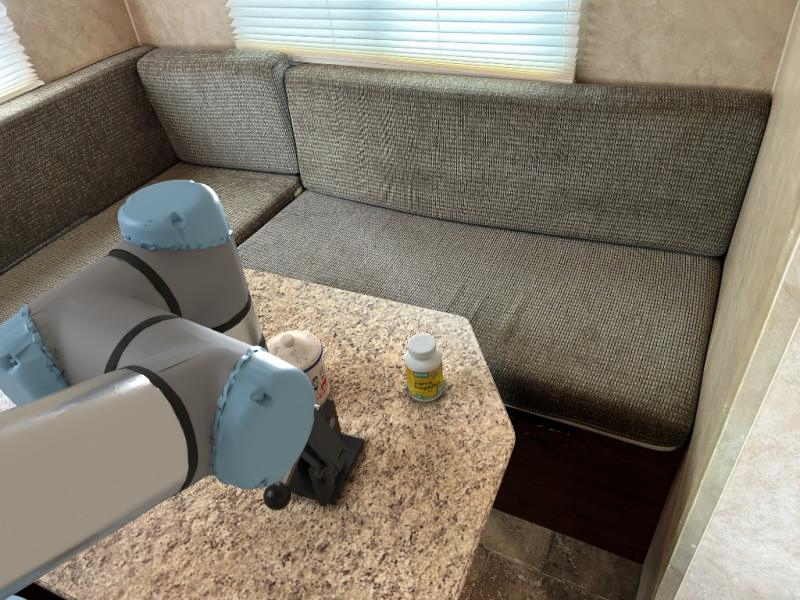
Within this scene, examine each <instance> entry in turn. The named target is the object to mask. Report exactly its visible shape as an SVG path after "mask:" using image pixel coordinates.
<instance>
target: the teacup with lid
mask: <svg viewBox="0 0 800 600" xmlns="http://www.w3.org/2000/svg"><path fill="white" fill-rule="evenodd" d="M266 344H267V347H268V351H269V353H270V354H272V355H274V356H276V357H278V358H280V359H282V360H284V361H286V362H287V363H289V364H291V365H293V366H295V367H297V368H299V369H300V370H302V371H303V372H304V373H305V374H306V375H307V377H308V378H309V380H310V381H311V383H312V386H313V389H314V392H315V400H316V403H315V405H318V406H320V407H322V406H323V404H324V403H325V401H326V399H327V398H328V397H329V394H330V389H331V388H330V382H329V377H328V374H327V369H326V364H325V360H324V356H323V352H324V348H323V344H322V342H321V341H320V340H319V338H318V337H317V336H316V335H315V334H313V333H311V332H310V331H309V330H301V329H300V330H299V329H294V330H287V331H283V332H280V333H278V334H276V335H274V336H273V337H271V338H270V339H269V340H267V341H266Z"/></svg>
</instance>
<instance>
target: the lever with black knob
mask: <svg viewBox="0 0 800 600" xmlns="http://www.w3.org/2000/svg"><path fill="white" fill-rule="evenodd" d="M315 408H316V409H317V410H318V411H320V409H321V408H322V406H318V405H315ZM299 459H300V456H299V458H298V459H297V461H296V462H295V463H294V465H293V466H292V467H291V468H290V469H289V471H288V472H287V473H286V474H285V475H284V476H282V477H281V478H280V479H279V480H278V481H276V482H275V483H273V484H272V485H270V486H268V487H265V488H264V491H263V494H262V499H263V503H264V505H265V506H266V507H267V508H268V509H269V510H272V511H276V512H277V511H281V510H284V509H285V508H287V507H288V506H289V504H290V502H291V500H292V493H291V490H290V488H289V486H288V485H289V482H290V480H291V478H292V475H293V473H294V470H295V468H296V466H297V463H298V461H299Z"/></svg>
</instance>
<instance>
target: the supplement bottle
mask: <svg viewBox="0 0 800 600" xmlns="http://www.w3.org/2000/svg"><path fill="white" fill-rule="evenodd" d="M404 367H405V375H406V383H407V391H408V393H409V395H410V396H411V397H412V399H414V400H416V401H418V402H424V403H427V402H432V401H434V400H436V399H438V398H439V397H440V396H441V395H442V394H443V392H444V388H445V386H444V385H445V384H444V373H443V372H444V371H443V370H444V369H443V368H444V367H443V356H442V353H441V350H440V349H439V348H438V347H437V341H436V339H435V337H433V336H432V335H430V334H427V333H418V334H414V335H413V336H411V337H410V338H409V339H408V341H407V350H406V352H405V354H404Z"/></svg>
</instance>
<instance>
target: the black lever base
mask: <svg viewBox="0 0 800 600" xmlns="http://www.w3.org/2000/svg"><path fill="white" fill-rule="evenodd" d="M319 413H320V414H321V415H322V416H323V418H324V419H325V420H326V421H327V422H328V424H329V425H330V426H331V427H332V429H333V430H334V431H335V432H336V433H337V435H338V436H339V437H340V438H341V440H342V441H343V442H344V443H345V444H346V446H347V447H348V448H349V450H350V453H349V455H348V457H347V459H346V461H345V463H344V465H343V467H342V469H341V471H340V472H338V474H337V476H336V478H335V480H334V481H335V484H336V487H335V489H334V491H333V493H332V495H331V497H330V499H329V501H328V503H327V505H330V506H336V504H337V502H338V500H339V498H340V496H341V494H342V493H343V490H344V488H345V487H346V484H347V483H348V480H349V478H350V476H351V474H352V472H353V469H354V467H355V466H356V463H357V461H358V459H359V457H360V455H361V454H362V451H363V448H365V447H364V446H365V445H366V444H365V439H364V438H362V437H357V436H353V435H350V434H346V433H342V429H341V426H340V421H339V416H338V412H337V408H336V402H335V400H334V399H331V398H328V397H327V399H326V400H325V402H324V403H323V404H322V405H321V409H320V411H319ZM310 466H311V465H310V464H309V463H308V462H307V461H306V460H304V459H303V458H302V457H301V456H300V459H299V461H298V463H297V466H296V468H295V470H294V473H293V475H292V478H291V480H290V482H289V485H288V486H289V488H290V490H291V494H292V495H296V496H298V497H299V496H300V497H303V498H307V499H310V500H313V501H316V502H318V500H317V496H316V493H315V490H314V487H313V483H312V480H311V477H310V474H309V471H308V470H309V468H310Z"/></svg>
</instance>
